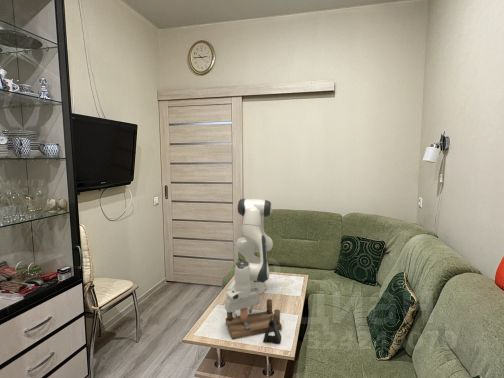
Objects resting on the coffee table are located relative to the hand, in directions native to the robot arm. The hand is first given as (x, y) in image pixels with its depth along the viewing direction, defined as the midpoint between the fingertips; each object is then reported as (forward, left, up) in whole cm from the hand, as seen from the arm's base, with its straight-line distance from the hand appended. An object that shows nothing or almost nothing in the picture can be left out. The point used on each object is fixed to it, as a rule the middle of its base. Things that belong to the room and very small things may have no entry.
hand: (242, 314), depth 169 cm
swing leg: (+2, +1, -5) cm, 5 cm away
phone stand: (+15, +12, -8) cm, 21 cm away
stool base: (0, +6, -8) cm, 10 cm away
